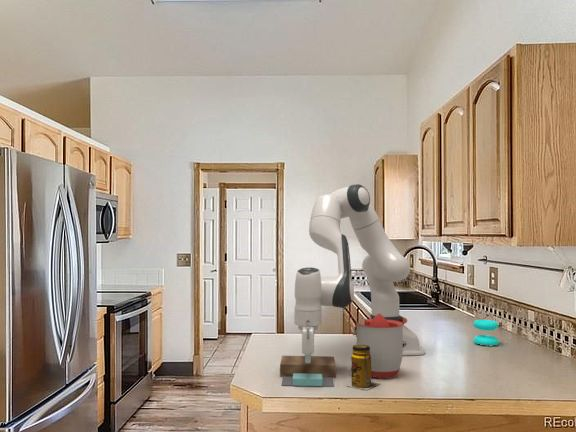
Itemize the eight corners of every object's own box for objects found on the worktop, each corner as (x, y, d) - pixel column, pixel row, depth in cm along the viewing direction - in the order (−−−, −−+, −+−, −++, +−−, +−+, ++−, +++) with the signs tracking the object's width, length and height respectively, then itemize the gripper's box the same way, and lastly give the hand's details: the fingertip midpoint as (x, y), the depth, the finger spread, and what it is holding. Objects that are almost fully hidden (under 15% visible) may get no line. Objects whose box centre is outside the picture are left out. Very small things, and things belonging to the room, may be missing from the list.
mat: (332, 378, 157) (332, 377, 157) (334, 386, 148) (334, 385, 148) (283, 377, 158) (283, 376, 158) (281, 385, 149) (281, 384, 149)
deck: (334, 368, 169) (334, 356, 170) (335, 377, 157) (335, 365, 158) (282, 367, 170) (282, 355, 170) (280, 376, 158) (280, 364, 158)
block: (322, 379, 148) (322, 386, 148) (322, 373, 154) (321, 380, 154) (292, 378, 148) (292, 385, 148) (293, 373, 154) (293, 379, 154)
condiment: (345, 386, 149) (345, 346, 150) (360, 379, 156) (360, 341, 156) (366, 390, 145) (366, 349, 145) (380, 384, 151) (380, 345, 152)
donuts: (468, 319, 213) (486, 318, 216) (468, 343, 212) (487, 341, 216) (484, 323, 203) (503, 322, 207) (485, 347, 203) (504, 346, 206)
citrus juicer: (366, 364, 174) (366, 308, 175) (411, 373, 163) (411, 313, 164) (342, 373, 162) (342, 313, 163) (389, 384, 151) (389, 318, 152)
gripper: (318, 324, 147) (318, 371, 147) (317, 314, 168) (317, 354, 167) (297, 324, 147) (297, 370, 147) (298, 313, 168) (298, 354, 167)
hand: (307, 362), depth 157 cm, fingers closed
